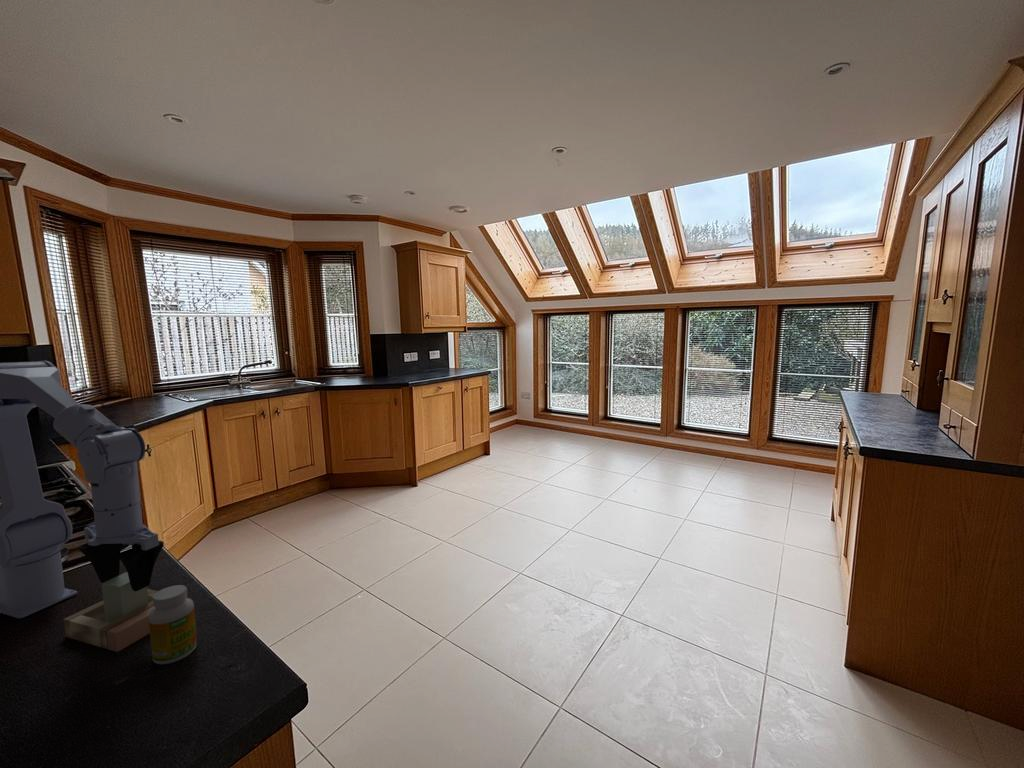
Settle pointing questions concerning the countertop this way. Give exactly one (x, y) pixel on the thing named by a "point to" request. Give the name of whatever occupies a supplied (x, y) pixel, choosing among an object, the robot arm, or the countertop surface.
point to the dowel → (121, 597)
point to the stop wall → (129, 631)
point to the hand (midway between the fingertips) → (125, 584)
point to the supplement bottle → (172, 625)
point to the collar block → (97, 623)
